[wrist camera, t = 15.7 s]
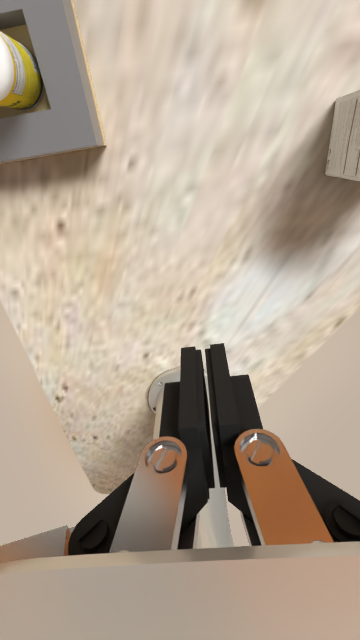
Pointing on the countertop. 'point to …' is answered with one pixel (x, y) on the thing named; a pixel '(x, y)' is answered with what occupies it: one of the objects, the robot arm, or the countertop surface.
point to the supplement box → (345, 139)
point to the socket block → (50, 83)
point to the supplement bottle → (18, 75)
